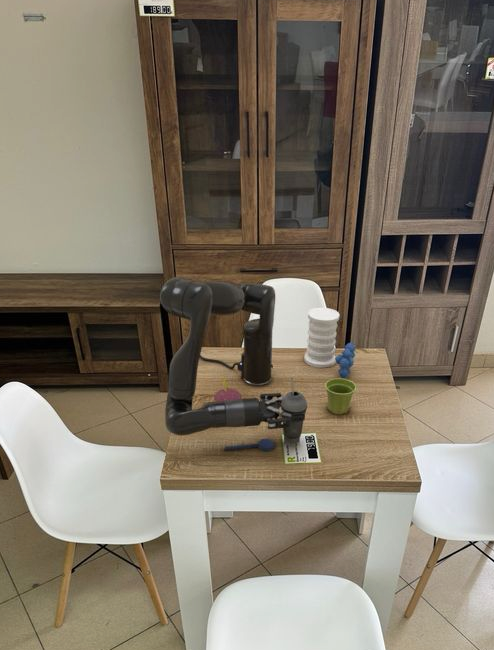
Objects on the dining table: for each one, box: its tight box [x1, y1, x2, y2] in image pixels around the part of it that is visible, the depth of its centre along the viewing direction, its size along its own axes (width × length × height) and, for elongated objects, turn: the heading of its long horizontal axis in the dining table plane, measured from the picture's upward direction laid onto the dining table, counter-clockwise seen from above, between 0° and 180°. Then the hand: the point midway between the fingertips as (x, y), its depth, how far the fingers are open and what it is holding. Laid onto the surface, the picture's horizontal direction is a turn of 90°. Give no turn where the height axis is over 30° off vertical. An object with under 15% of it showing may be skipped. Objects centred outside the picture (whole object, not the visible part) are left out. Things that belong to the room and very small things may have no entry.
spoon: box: [223, 438, 275, 451], centre depth 152 cm, size 14×4×1 cm, turn 102°
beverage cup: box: [280, 376, 308, 446], centre depth 148 cm, size 7×7×20 cm
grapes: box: [335, 342, 356, 379], centre depth 185 cm, size 12×7×12 cm, turn 158°
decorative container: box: [303, 307, 340, 369], centre depth 192 cm, size 12×12×18 cm
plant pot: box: [324, 377, 357, 415], centre depth 167 cm, size 9×9×9 cm
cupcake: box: [213, 375, 243, 402], centre depth 163 cm, size 9×8×12 cm
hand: (301, 408), depth 148 cm, fingers closed on beverage cup, 7 cm apart
